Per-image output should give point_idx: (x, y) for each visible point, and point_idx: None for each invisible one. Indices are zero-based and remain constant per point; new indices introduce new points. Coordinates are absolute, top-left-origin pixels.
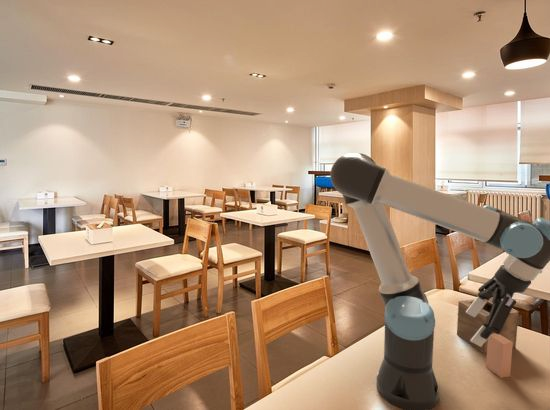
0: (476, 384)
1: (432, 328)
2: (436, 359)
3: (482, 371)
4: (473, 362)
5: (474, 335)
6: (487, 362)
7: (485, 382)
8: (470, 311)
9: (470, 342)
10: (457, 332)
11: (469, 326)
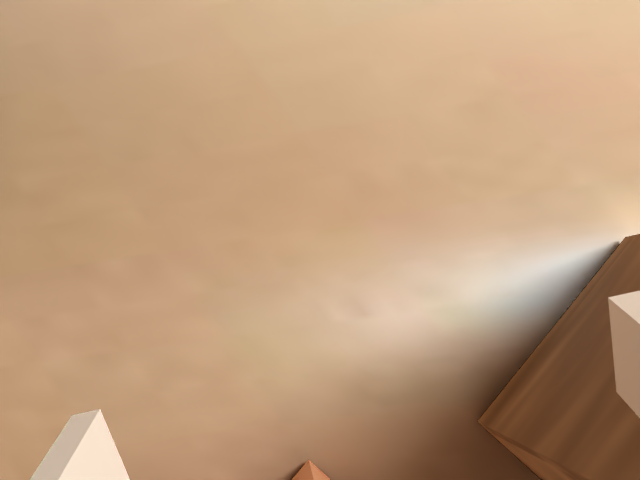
0: None
1: None
2: (220, 175)
3: (246, 445)
4: (323, 382)
5: (58, 463)
6: (304, 477)
7: None
8: (637, 347)
9: (551, 336)
10: (633, 238)
11: None
